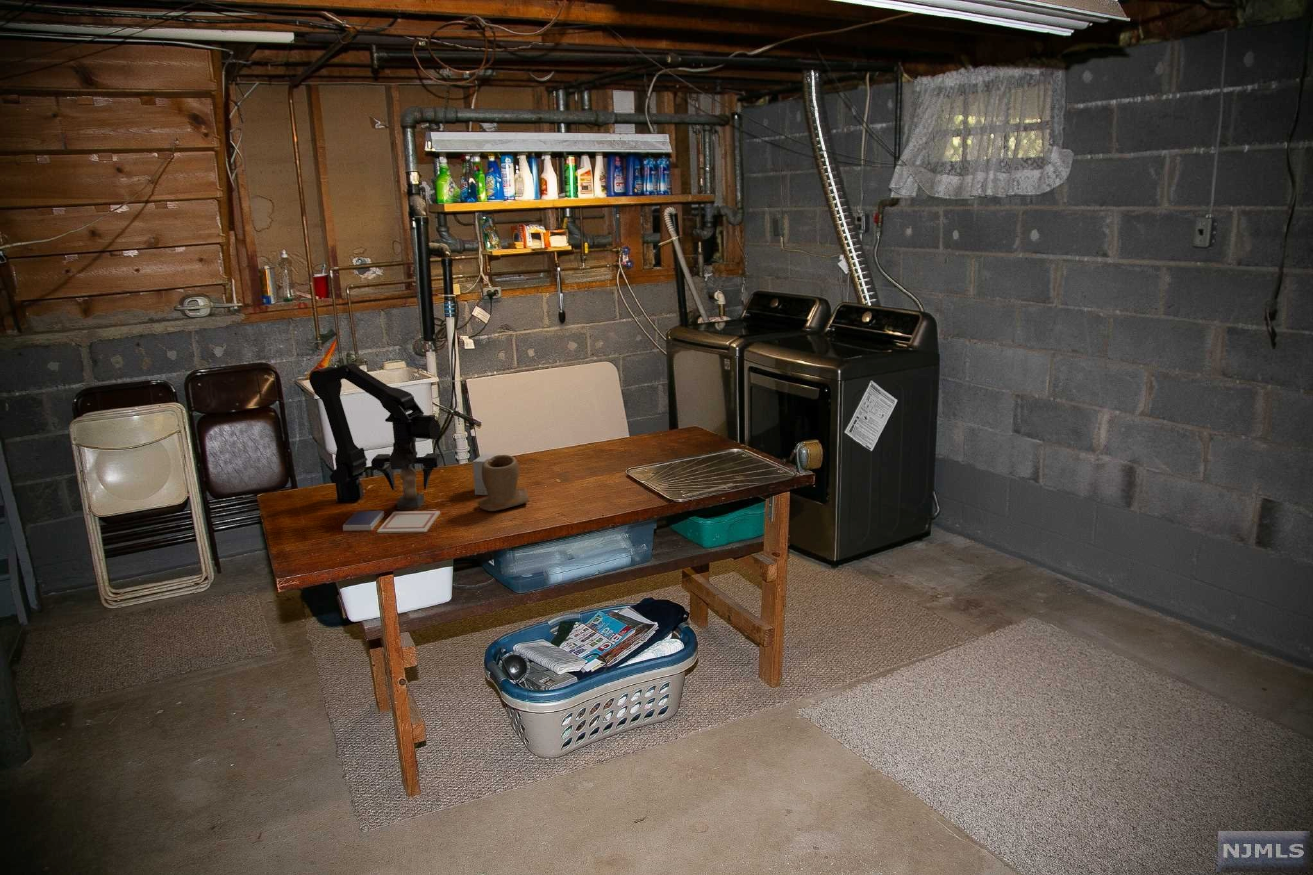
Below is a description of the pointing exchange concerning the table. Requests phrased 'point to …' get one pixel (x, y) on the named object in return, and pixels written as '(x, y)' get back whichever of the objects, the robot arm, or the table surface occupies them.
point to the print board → (409, 522)
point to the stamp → (409, 491)
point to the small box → (480, 474)
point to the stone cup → (501, 484)
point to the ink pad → (363, 520)
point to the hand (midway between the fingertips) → (409, 489)
